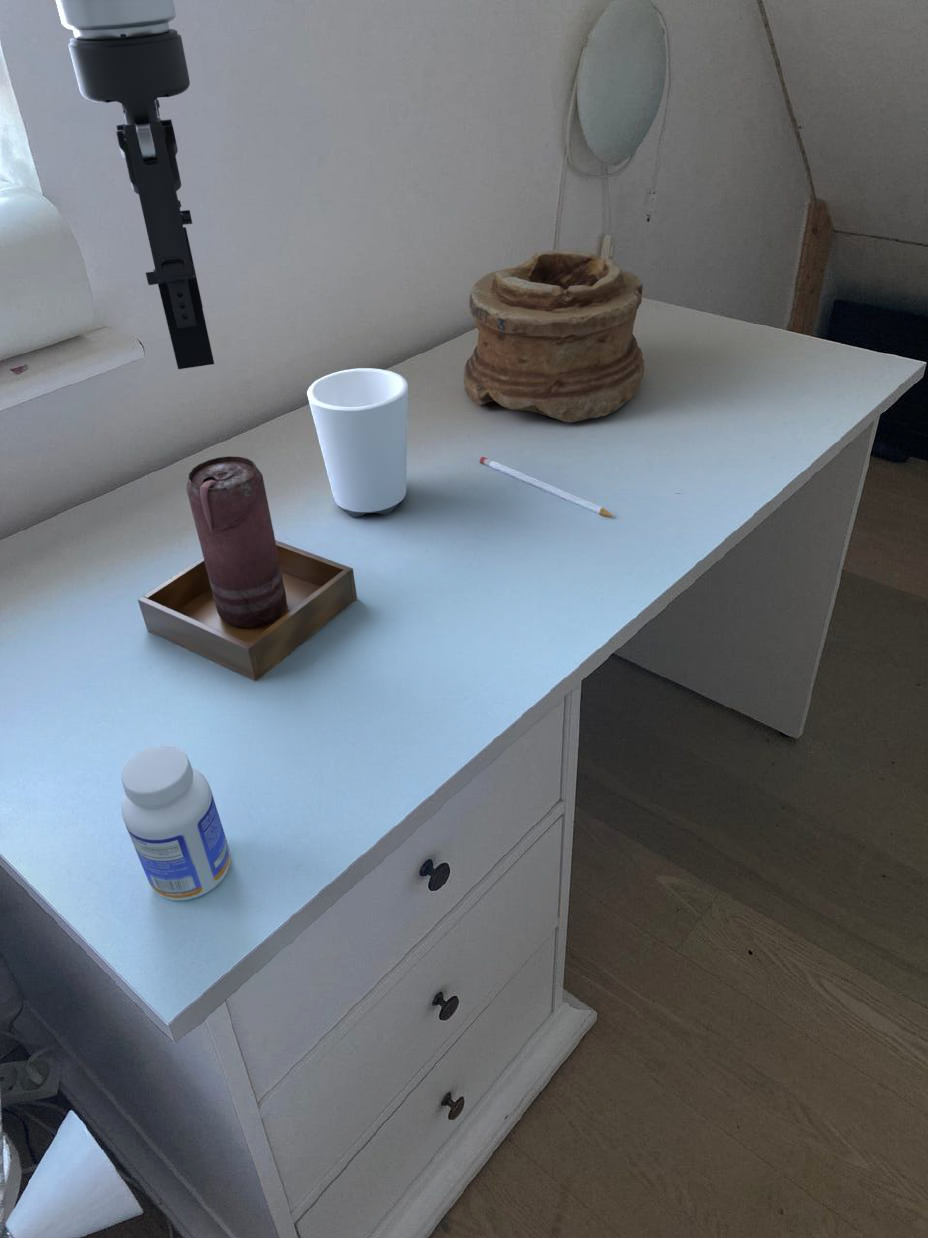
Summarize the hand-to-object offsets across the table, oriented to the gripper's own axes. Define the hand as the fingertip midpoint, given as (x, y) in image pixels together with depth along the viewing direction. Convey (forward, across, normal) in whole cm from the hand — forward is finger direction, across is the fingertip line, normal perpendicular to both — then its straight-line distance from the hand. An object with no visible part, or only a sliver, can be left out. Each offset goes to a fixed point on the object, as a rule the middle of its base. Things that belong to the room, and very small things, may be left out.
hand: (191, 335), depth 77 cm
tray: (+23, -8, 0) cm, 24 cm away
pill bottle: (+23, -35, +7) cm, 43 cm away
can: (+22, -8, 0) cm, 24 cm away
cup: (+23, +8, -14) cm, 28 cm away
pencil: (+23, +4, -32) cm, 40 cm away
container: (+23, +28, -42) cm, 55 cm away
